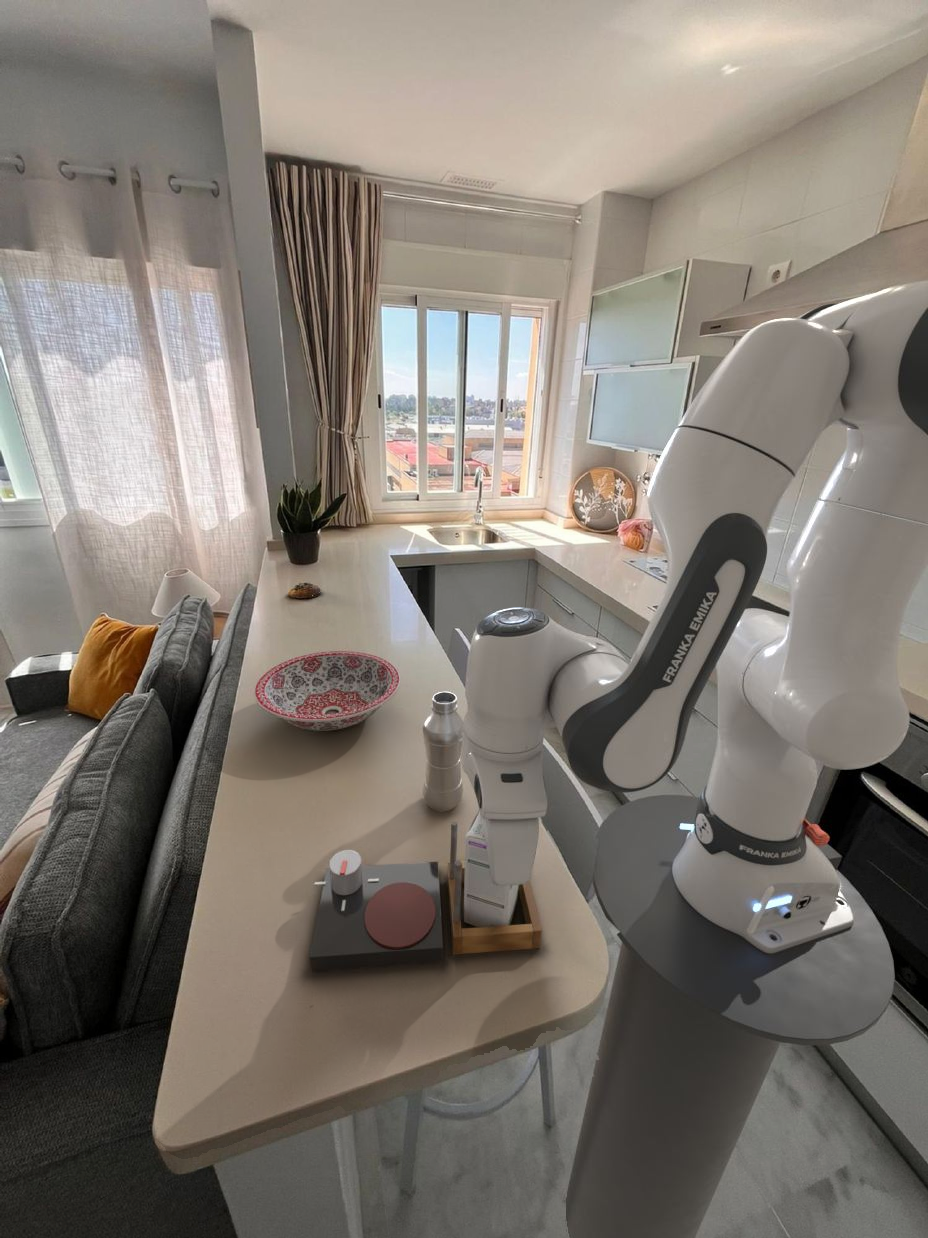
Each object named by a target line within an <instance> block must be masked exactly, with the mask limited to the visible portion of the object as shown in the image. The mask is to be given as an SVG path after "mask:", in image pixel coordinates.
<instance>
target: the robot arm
mask: <svg viewBox="0 0 928 1238" xmlns="http://www.w3.org/2000/svg"><path fill="white" fill-rule="evenodd" d="M829 426H837V427H845V428H846V445H845V447H846V448H845V450H844V452H843V453H842V455H841V457H840V458H839V460H838V461H837V463H836V465H835V467H834V468H833V470H832V472H831V473H830V475H829V477H828V478H827V481H826V482H825V484H824V486H823V489H822V490H821V492H820V494H819V496H818V499H817V500H816V501H815V504H814V506H813V508H812V510H811V513H810V514H809V517H808V519H807V521H806V523H805V525H804V527H803V529H802V531H801V533H800V535H799V537H798V540H797V542H796V544H795V546H794V548H793V551H792V552H791V554H790V556H789V558H788V561H787V564H786V569H785V572H786V574H785V575H786V580H787V583H788V586H789V593H790V606H789V607H790V608H789V615H788V616H787V615H785V614H781V613H778V612H776V611H771V610H767V609H763V608H755V607H754V608H753V607H752V608H751V607H750V608H747V607H748V605H749V602H750V601H751V599H752V597H753V594H754V592H755V590H756V588H757V587H758V583H759V582H760V579H761V576H762V573H763V571H764V568H765V565H766V561H767V555H768V542H767V537H768V533H769V530H770V528H771V527H770V526H771V524H772V521H773V519H774V517H775V514H776V512H777V510H778V507H779V505H780V503H781V502H782V500H783V498H784V496H785V495H786V493H787V492H788V490H789V488H790V486H791V485H792V483H793V482H794V480H795V478H796V477H797V475H798V474H799V472H800V471H801V469H802V468H803V466H804V464H805V463H806V462H807V460H808V458H809V457H810V455H811V453H812V451H813V450H814V448H815V446H816V445H817V443H818V442H819V439H820V437H821V435H822V434H823V432H824V431H825V430H826V429H828V428H829ZM656 463H657V464H656V465H655V468H654V471H653V473H652V476H651V479H650V482H649V486H648V489H647V492H646V498H647V500H646V501H647V508H648V512H649V515H650V518H651V521H652V523H653V525H654V527H655V529H656V531H657V533H658V536H659V537H660V540H661V542H662V545H663V549H664V552H665V557H666V564H667V576H666V583H665V588H664V591H663V594H662V597H661V599H660V601H659V603H658V605H657V607H656V609H655V612H654V613H653V615H652V617H651V619H650V621H649V623H648V625H647V626H646V628H645V631H644V633H643V635H642V637H641V639H640V641H639V643H638V645H637V647H636V649H635V651H634V653H633V655H632V657H631V659H630V661H628V660H627V658H625V657H624V656H623V655H622V654H621V652H620V651H619V650H618V649H617V648H616V647H615V646H613V645H612V644H611V643H610V642H609V641H607V640H605V639H604V638H601V637H598V636H595V635H587V634H586V635H585V634H581V633H578V632H575V631H573V630H570V629H568V628H566V627H564V626H562V625H560V624H559V623H558V622H556V621H554V620H553V619H552V618H551V617H550V616H549V615H548V614H547V613H546V612H544V611H543V610H539V609H535V608H531V607H530V608H529V607H508V608H504V609H500V610H498V611H495V612H493V613H491V614H489V615H487V616H485V617H484V618H483V619H482V620H480V622H479V623H478V624H477V626H476V628H475V630H474V633H473V635H472V637H471V642H470V645H469V650H468V657H467V664H466V670H465V671H466V672H465V686H464V694H465V699H466V702H467V704H466V705H467V709H466V713H465V715H464V718H463V731H462V746H461V756H460V766H461V768H462V770H463V772H464V773H465V775H466V776H467V778H468V780H469V782H470V785H471V787H472V789H473V791H474V794H475V797H476V800H477V804H478V810H479V809H480V815H481V820H482V826H483V832H484V837H485V843H486V849H487V854H488V860H489V866H490V875H491V882H492V884H494V885H502V886H512V885H521V884H524V883H526V882H527V881H528V880H529V881H530V879H531V876H532V872H533V868H534V864H535V860H536V859H535V858H536V854H537V848H538V844H539V842H538V841H539V836H540V835H539V834H540V818H544V817H546V815H547V810H548V796H547V789H546V784H545V776H544V772H543V760H544V753H543V745H544V739H545V733H546V731H547V730H548V729H550V728H556V729H557V730H558V733H559V734H560V737H561V742H562V744H563V747H564V751H565V754H566V758H567V760H568V763H569V766H570V769H571V771H572V772H573V773H574V775H575V776H576V777H577V778H578V779H579V780H580V781H582V782H583V783H585V784H586V785H588V786H591V787H593V788H596V789H598V790H600V791H604V792H609V793H620V794H625V793H626V794H627V793H635V792H639V791H643V790H646V789H648V788H650V787H653V786H654V785H656V784H657V783H659V782H660V781H661V780H662V779H663V778H665V776H667V775H668V774H669V772H670V771H671V770H672V768H673V767H674V766H675V764H676V762H677V760H678V758H679V756H680V754H681V752H682V749H683V746H684V744H685V740H686V736H687V731H688V727H689V723H690V719H691V718H692V717H691V716H692V715H693V712H694V710H695V707H696V705H697V702H698V701H699V698H700V696H701V695H702V692H703V690H704V689H705V687H706V685H707V683H708V681H709V679H710V678H711V675H712V673H713V671H714V670H715V669H716V677H717V679H716V680H717V736H716V746H715V752H714V756H713V759H712V764H711V768H710V773H709V777H708V781H707V784H706V785H705V786H703V789H702V791H701V793H700V797H699V798H700V799H699V802H698V806H697V810H696V817H695V823H694V825H693V824H681V825H680V829H688V830H691V832H689V833H688V835H687V838H686V841H685V844H684V845H683V847H682V849H681V850H680V852H679V853H678V855H677V856H676V857H675V859H674V862H673V865H672V873H673V878H674V881H675V884H676V886H677V888H678V890H679V891H680V893H681V894H682V896H683V897H684V898H685V900H686V901H687V902H688V903H689V904H690V905H691V906H692V907H693V908H694V909H695V910H696V911H697V912H699V913H700V914H701V915H702V916H704V917H705V918H707V919H708V920H710V921H711V922H713V923H715V924H716V925H718V926H720V927H722V928H724V929H727V930H729V931H731V932H734V933H736V934H738V935H740V936H742V937H743V938H745V939H746V940H747V941H749V942H750V943H751V944H753V945H754V946H755V947H757V948H758V949H760V950H762V951H763V952H766V953H769V954H772V953H776V952H779V951H782V950H785V949H788V948H791V947H794V946H796V945H799V944H802V943H805V942H808V941H811V940H814V939H817V938H820V937H823V936H826V935H829V934H832V933H835V932H838V931H841V930H844V929H846V928H849V927H851V926H853V923H854V916H853V912H852V910H851V907H850V905H849V903H848V902H847V900H846V898H845V897H844V895H843V894H842V893H841V891H840V890H839V889H840V882H839V877H838V875H837V872H836V870H838V868H839V866H840V863H841V861H842V858H843V856H842V855H841V854H840V853H839V852H837V851H836V849H834V848H833V847H832V846H831V845H829V844H828V843H829V841H830V838H831V837H830V835H829V834H828V833H827V832H826V831H824V830H822V829H821V827H820V826H819V825H818V824H816V823H810V822H809V821H808V820H807V819H806V818H807V817H806V815H807V812H808V809H809V807H810V804H811V802H812V798H813V797H814V794H815V791H816V789H817V784H818V767H817V763H819V764H821V765H823V766H825V767H827V768H830V769H835V770H842V771H843V770H844V771H847V770H849V771H850V770H857V769H863V768H867V767H871V766H874V765H876V764H878V763H880V762H882V761H884V760H885V759H887V758H888V757H890V756H891V755H892V754H893V753H894V752H895V751H897V750H898V748H899V747H900V746H901V744H902V743H903V741H904V739H905V738H906V736H907V733H908V730H909V727H910V721H911V719H910V712H909V708H908V705H907V703H906V701H905V698H904V696H903V694H902V693H903V692H902V689H901V686H900V681H899V676H898V651H899V641H900V634H901V630H902V629H901V628H902V625H903V619H904V616H905V612H906V609H907V608H908V604H909V602H910V599H911V597H912V595H913V593H914V591H915V589H916V588H917V585H918V584H919V582H920V580H921V579H922V576H923V575H924V572H925V571H926V569H927V567H928V279H927V280H920V281H914V282H908V283H904V284H897V285H893V286H889V287H887V288H883V289H882V290H880V291H876V292H873V293H872V292H871V293H868V294H864V295H861V296H857V297H855V298H851V299H849V300H845V301H843V302H839V303H835V302H833V303H827V304H823V305H821V306H818V307H815V308H813V309H811V310H809V311H807V312H805V313H803V314H801V315H799V316H798V317H785V318H777V319H772V320H767V321H765V322H762V323H760V324H758V325H756V326H755V327H753V328H751V329H750V330H749V331H747V332H746V333H744V335H743V336H742V337H741V338H740V339H739V340H738V341H737V342H736V343H735V344H734V345H733V347H732V348H731V349H730V351H729V352H727V354H726V355H725V356H724V358H723V359H722V360H721V362H720V363H719V364H718V365H717V367H716V368H715V369H714V370H713V372H712V373H711V375H709V377H708V379H707V380H706V382H705V383H704V384H703V386H702V387H701V389H700V390H699V391H698V393H697V394H696V396H694V399H693V400H692V402H691V403H690V405H689V406H688V408H687V409H686V411H685V412H684V414H683V416H682V418H681V420H680V421H679V423H678V424H677V426H676V428H675V429H674V431H673V433H672V435H671V437H670V439H669V440H668V442H667V444H666V445H665V447H664V449H663V451H662V452H661V454H660V456H659V459H658V461H657V462H656ZM816 762H817V763H816ZM771 938H772V939H774V940H775V941H774V940H772V939H771Z"/></svg>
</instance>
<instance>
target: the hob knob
mask: <svg viewBox="0 0 928 1238" xmlns="http://www.w3.org/2000/svg"><path fill="white" fill-rule="evenodd" d="M362 862H363V861H362V857H361V854H359V853H358V852H357V851H355V850H353V849H343V850H339V851H338V852H336V853H335V854H333V855H332V857H331V859H330V860H329V862H328V863H329V864H328V868H329V869H330V880H331V888H332V890H333V891H334V892H335V893H336V894H338V895H350V894H352V893H354V892H356V891H357V890H358V889H359V888H360V886H361V884H362V866H363V865H362Z"/></svg>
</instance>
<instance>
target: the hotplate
mask: <svg viewBox="0 0 928 1238" xmlns="http://www.w3.org/2000/svg"><path fill="white" fill-rule="evenodd" d="M364 921H365V927H366V930H367V932H368V934H369V935H370V937H371V938H372V939H373V940H374V941H375V942H376V943H378V944H380V945H382V946H384V947H387V948H393V949H401V948H406V947H410V946H412V945H414V944H416V943H418V942H420V941H421V940H422V939H423V938H424V937H425V936H426V935H427V934H428V933H429V931H430V930H431V928H432V926H433V924H434V921H435V905H434V901H433V899H432V897H431V896H430V894H429V893H428V892H427V891H426V890H425V889H423V888H422V887H420V886H418V885H416V884H413V883H408V882H399V883H393V884H390V885H387V886H385V887H383V888H382V889H380V890H379V891H378V892H376V893H375V894H374V895H373V897H372V898H371V899H370V901H369V902H368V904H367V907H366V910H365V915H364Z"/></svg>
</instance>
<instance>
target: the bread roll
mask: <svg viewBox="0 0 928 1238" xmlns="http://www.w3.org/2000/svg"><path fill="white" fill-rule="evenodd" d="M289 589H290V590H288V592H287V594H288V596H289V597H291V598H293V599H311V598H316V597H319V596H320V595H321V592H322V590H321V588H320V587H319V586H318V585H315V584H313V583H311V582H299V583H297V584H295V585H294V586H292V587H291V588H289ZM320 591H321V592H320ZM319 592H320V593H319ZM312 595H313V596H312Z"/></svg>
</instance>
